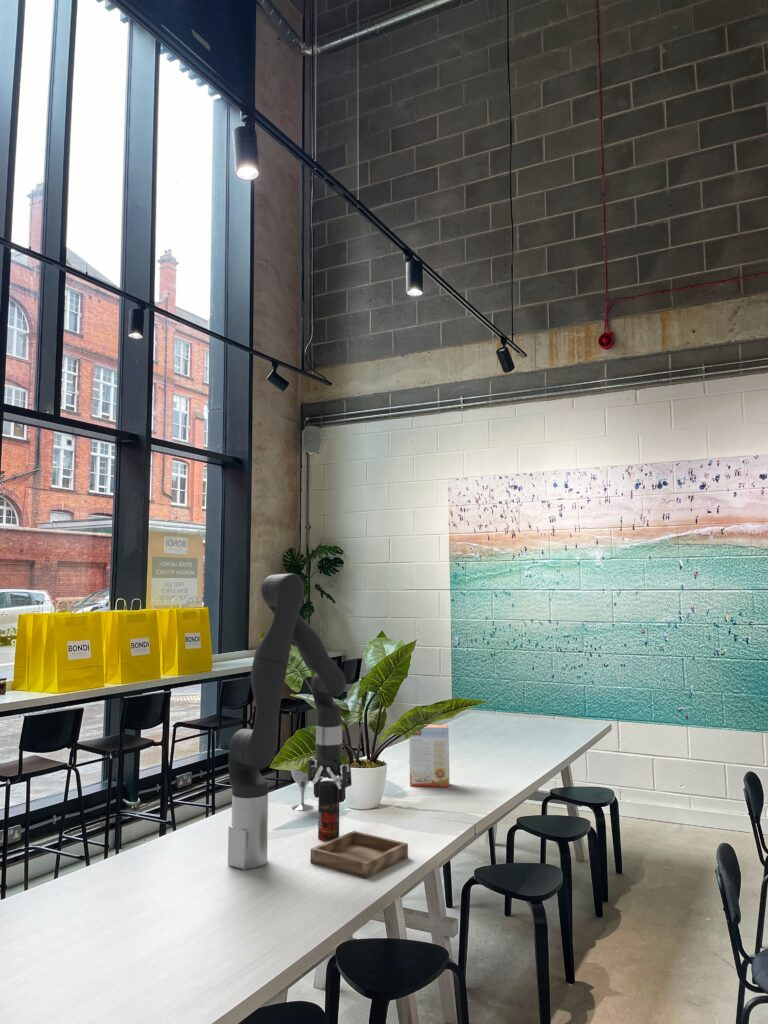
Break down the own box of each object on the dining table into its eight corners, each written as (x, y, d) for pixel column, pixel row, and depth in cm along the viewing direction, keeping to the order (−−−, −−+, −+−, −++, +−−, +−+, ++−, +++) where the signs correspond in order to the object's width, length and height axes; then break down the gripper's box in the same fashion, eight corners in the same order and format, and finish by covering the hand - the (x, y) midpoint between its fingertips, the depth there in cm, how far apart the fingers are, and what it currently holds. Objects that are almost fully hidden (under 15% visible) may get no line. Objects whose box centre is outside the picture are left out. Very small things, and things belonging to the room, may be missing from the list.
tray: (366, 878, 183) (366, 863, 183) (310, 863, 193) (310, 848, 194) (407, 857, 197) (407, 843, 198) (353, 844, 208) (353, 830, 208)
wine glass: (285, 807, 243) (285, 759, 244) (304, 802, 248) (305, 755, 250) (300, 812, 237) (301, 763, 239) (320, 807, 243) (320, 759, 244)
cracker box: (449, 783, 273) (449, 724, 275) (448, 787, 267) (448, 727, 269) (411, 782, 275) (410, 723, 277) (409, 786, 269) (409, 726, 271)
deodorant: (313, 838, 213) (314, 783, 214) (327, 833, 217) (328, 779, 219) (329, 842, 209) (329, 786, 211) (343, 837, 214) (343, 782, 215)
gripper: (301, 740, 217) (301, 798, 216) (340, 746, 209) (340, 806, 207) (318, 736, 223) (318, 792, 222) (356, 741, 215) (357, 800, 213)
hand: (329, 799), depth 214 cm, fingers open, 8 cm apart
